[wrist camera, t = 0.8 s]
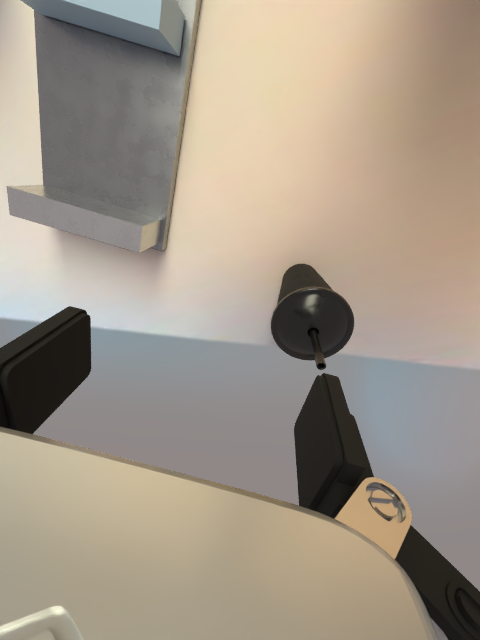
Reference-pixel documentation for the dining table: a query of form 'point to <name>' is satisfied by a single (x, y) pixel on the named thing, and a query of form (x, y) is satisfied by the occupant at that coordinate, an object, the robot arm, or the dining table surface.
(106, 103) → the vise base
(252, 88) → the dining table surface
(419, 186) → the dining table surface
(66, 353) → the robot arm
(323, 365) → the drinking cup
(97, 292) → the dining table surface
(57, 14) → the bar
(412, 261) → the dining table surface
